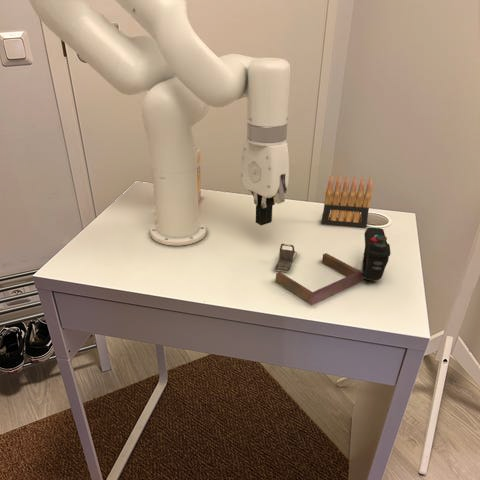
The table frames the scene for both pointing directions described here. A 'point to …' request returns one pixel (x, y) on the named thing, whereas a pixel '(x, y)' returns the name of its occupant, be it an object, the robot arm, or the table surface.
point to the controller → (375, 254)
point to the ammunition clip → (347, 204)
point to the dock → (327, 291)
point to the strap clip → (286, 258)
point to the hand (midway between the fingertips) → (263, 222)
